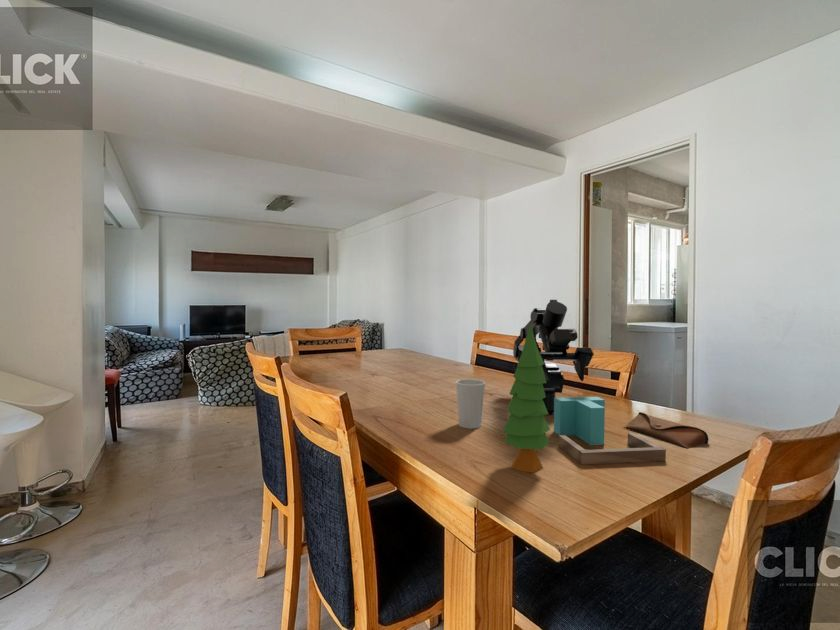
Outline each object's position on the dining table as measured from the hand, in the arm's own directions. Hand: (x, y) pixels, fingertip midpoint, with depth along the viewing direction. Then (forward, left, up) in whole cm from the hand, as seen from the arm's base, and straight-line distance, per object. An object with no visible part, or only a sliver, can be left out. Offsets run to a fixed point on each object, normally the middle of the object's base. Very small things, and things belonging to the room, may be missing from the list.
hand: (565, 380), depth 107 cm
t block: (+5, +7, -13) cm, 15 cm away
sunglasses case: (-10, +22, -14) cm, 27 cm away
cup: (+15, -21, -13) cm, 29 cm away
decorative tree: (+31, +2, -13) cm, 33 cm away
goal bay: (+12, +14, -13) cm, 23 cm away
